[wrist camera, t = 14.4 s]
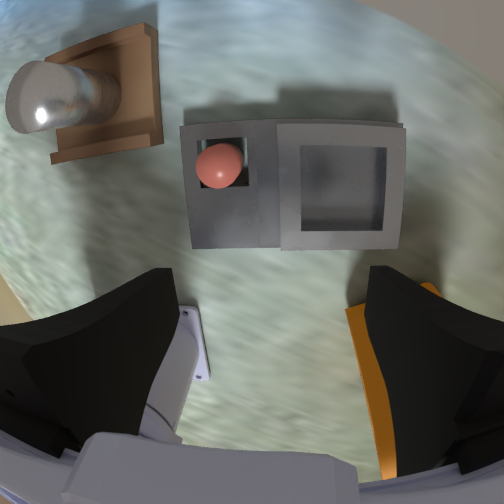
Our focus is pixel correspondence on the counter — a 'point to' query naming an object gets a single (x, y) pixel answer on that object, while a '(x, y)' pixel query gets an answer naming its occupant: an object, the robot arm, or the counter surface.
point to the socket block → (301, 185)
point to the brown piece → (133, 93)
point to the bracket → (375, 389)
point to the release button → (219, 165)
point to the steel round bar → (60, 97)
